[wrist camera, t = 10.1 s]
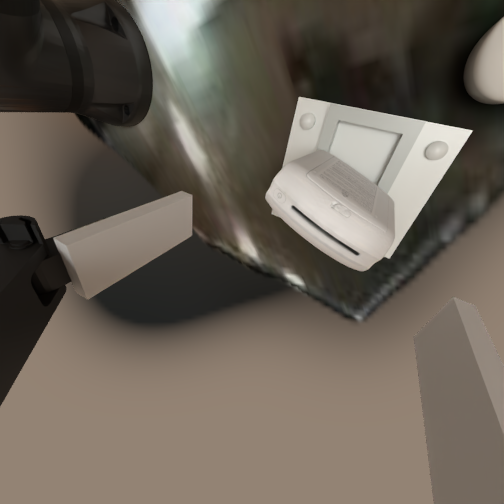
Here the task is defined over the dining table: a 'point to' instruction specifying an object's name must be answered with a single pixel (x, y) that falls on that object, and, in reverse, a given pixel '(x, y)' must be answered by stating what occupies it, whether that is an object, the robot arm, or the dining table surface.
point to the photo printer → (334, 209)
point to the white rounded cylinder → (487, 67)
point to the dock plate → (379, 151)
